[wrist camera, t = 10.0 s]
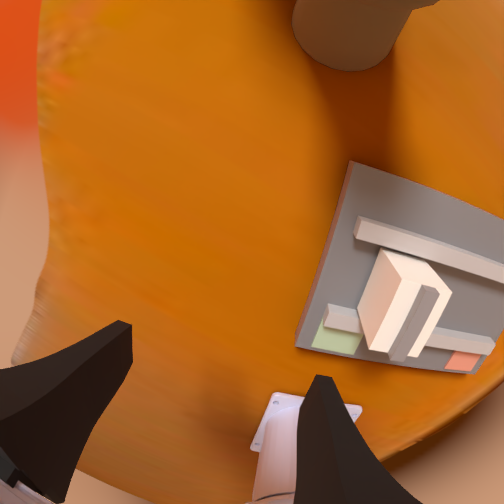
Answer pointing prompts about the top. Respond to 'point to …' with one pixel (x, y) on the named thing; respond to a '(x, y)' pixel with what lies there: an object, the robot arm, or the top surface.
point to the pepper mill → (351, 29)
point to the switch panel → (417, 245)
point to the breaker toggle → (401, 304)
